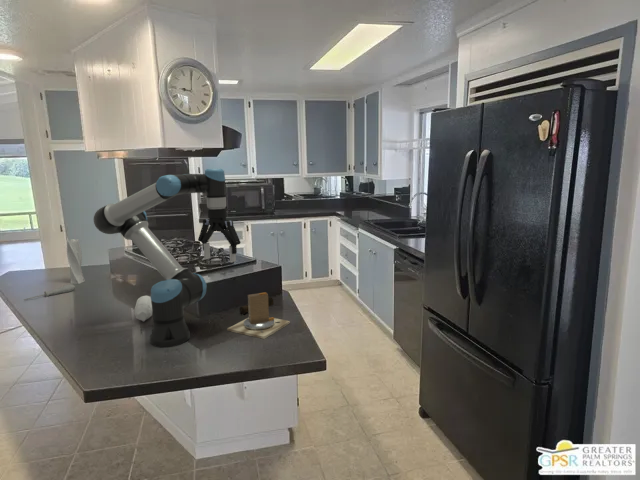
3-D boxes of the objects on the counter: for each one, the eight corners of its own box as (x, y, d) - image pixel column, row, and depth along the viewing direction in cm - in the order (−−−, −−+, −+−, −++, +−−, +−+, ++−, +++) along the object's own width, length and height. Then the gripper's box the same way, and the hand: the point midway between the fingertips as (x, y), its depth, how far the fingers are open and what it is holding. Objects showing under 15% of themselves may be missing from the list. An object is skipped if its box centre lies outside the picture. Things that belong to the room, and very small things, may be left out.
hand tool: (243, 315, 199) (243, 306, 198) (239, 313, 202) (238, 304, 201) (276, 306, 211) (276, 297, 211) (271, 304, 214) (271, 295, 214)
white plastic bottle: (133, 326, 187) (131, 309, 186) (137, 312, 205) (135, 296, 203) (152, 324, 189) (150, 307, 188) (155, 310, 207) (153, 294, 206)
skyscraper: (67, 284, 256) (61, 237, 251) (76, 280, 263) (70, 235, 258) (78, 284, 254) (73, 238, 249) (87, 281, 262) (82, 235, 257)
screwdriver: (23, 304, 226) (21, 296, 225) (73, 290, 244) (72, 283, 244) (25, 303, 222) (23, 296, 222) (76, 290, 241) (74, 282, 241)
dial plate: (227, 330, 180) (227, 328, 180) (255, 316, 197) (254, 313, 196) (264, 338, 171) (263, 336, 171) (289, 323, 188) (289, 320, 187)
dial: (248, 332, 175) (247, 300, 173) (240, 321, 187) (238, 291, 184) (278, 326, 181) (277, 295, 178) (268, 316, 192) (267, 287, 190)
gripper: (247, 208, 167) (250, 261, 171) (200, 206, 179) (203, 255, 183) (235, 210, 161) (238, 265, 165) (187, 207, 173) (190, 259, 177)
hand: (219, 260), depth 174 cm, fingers open, 13 cm apart
